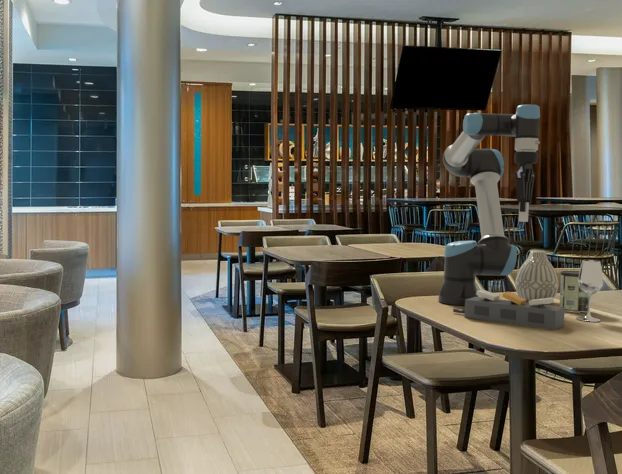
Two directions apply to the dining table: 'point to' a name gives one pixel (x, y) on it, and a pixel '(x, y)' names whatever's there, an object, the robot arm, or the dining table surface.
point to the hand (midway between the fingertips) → (523, 221)
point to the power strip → (514, 313)
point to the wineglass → (590, 283)
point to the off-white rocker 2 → (541, 301)
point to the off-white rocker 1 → (488, 295)
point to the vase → (536, 277)
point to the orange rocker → (514, 298)
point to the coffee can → (572, 293)
